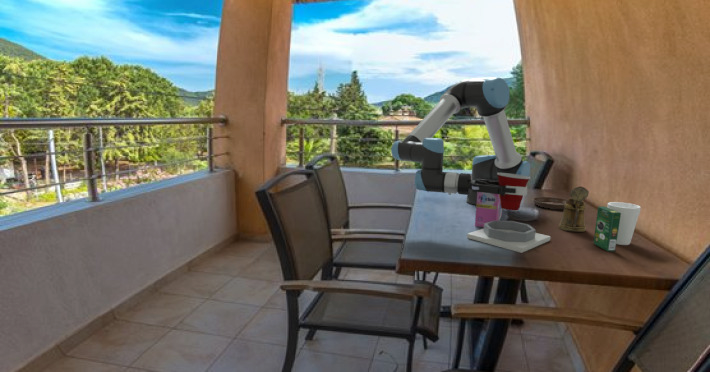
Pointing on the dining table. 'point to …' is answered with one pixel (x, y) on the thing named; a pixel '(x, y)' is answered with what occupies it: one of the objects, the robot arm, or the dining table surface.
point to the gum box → (487, 208)
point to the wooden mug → (574, 211)
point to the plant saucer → (561, 202)
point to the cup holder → (509, 235)
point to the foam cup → (625, 220)
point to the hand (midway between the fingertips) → (527, 189)
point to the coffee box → (607, 228)
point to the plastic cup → (511, 200)
